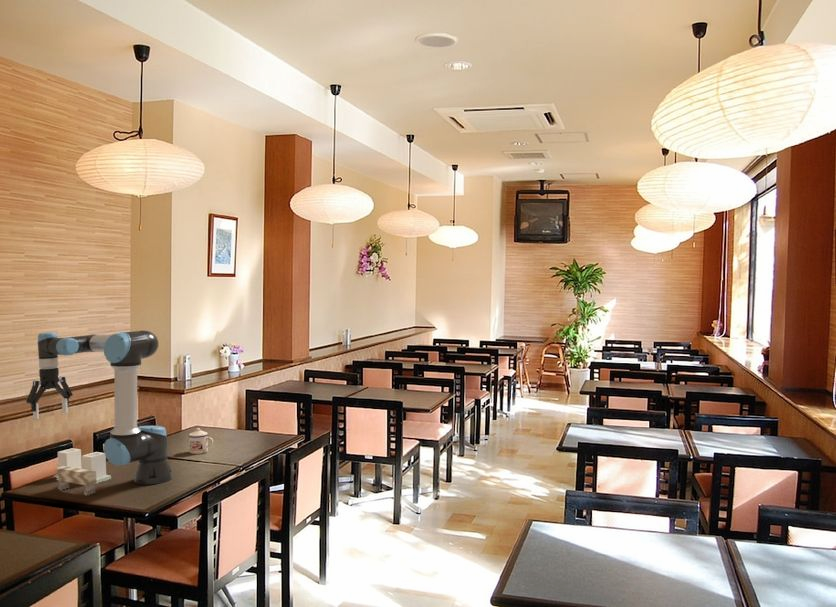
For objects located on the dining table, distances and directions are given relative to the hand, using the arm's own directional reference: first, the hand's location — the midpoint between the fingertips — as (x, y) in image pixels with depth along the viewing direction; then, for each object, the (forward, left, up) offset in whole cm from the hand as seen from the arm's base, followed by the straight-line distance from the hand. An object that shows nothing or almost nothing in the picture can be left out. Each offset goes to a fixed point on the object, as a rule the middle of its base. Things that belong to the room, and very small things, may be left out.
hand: (50, 415), depth 306 cm
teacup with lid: (-30, -58, -27) cm, 71 cm away
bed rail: (-30, +11, -27) cm, 42 cm away
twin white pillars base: (-16, -2, -27) cm, 31 cm away
